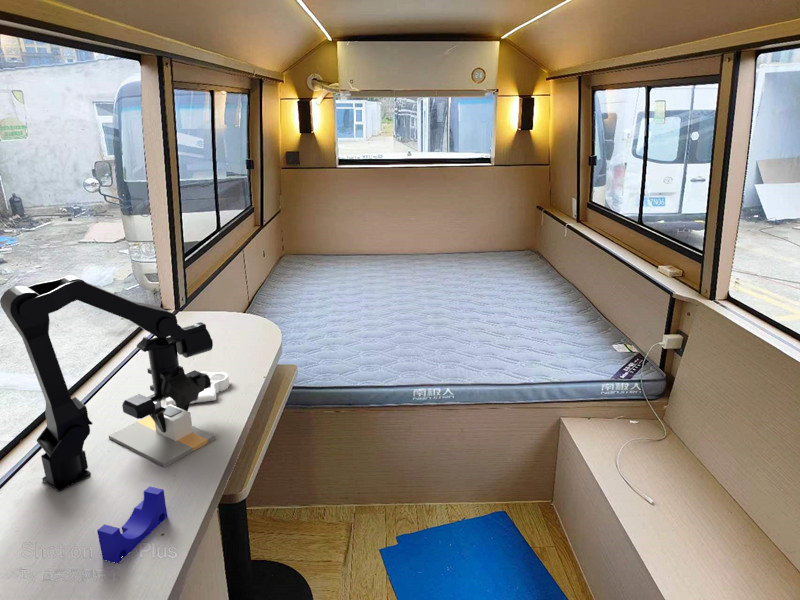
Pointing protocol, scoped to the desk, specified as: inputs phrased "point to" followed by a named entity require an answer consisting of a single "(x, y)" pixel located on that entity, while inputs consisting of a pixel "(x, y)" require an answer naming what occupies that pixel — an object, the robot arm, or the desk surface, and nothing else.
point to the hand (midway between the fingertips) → (173, 427)
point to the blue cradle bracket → (133, 526)
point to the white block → (176, 423)
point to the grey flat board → (159, 441)
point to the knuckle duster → (209, 388)
